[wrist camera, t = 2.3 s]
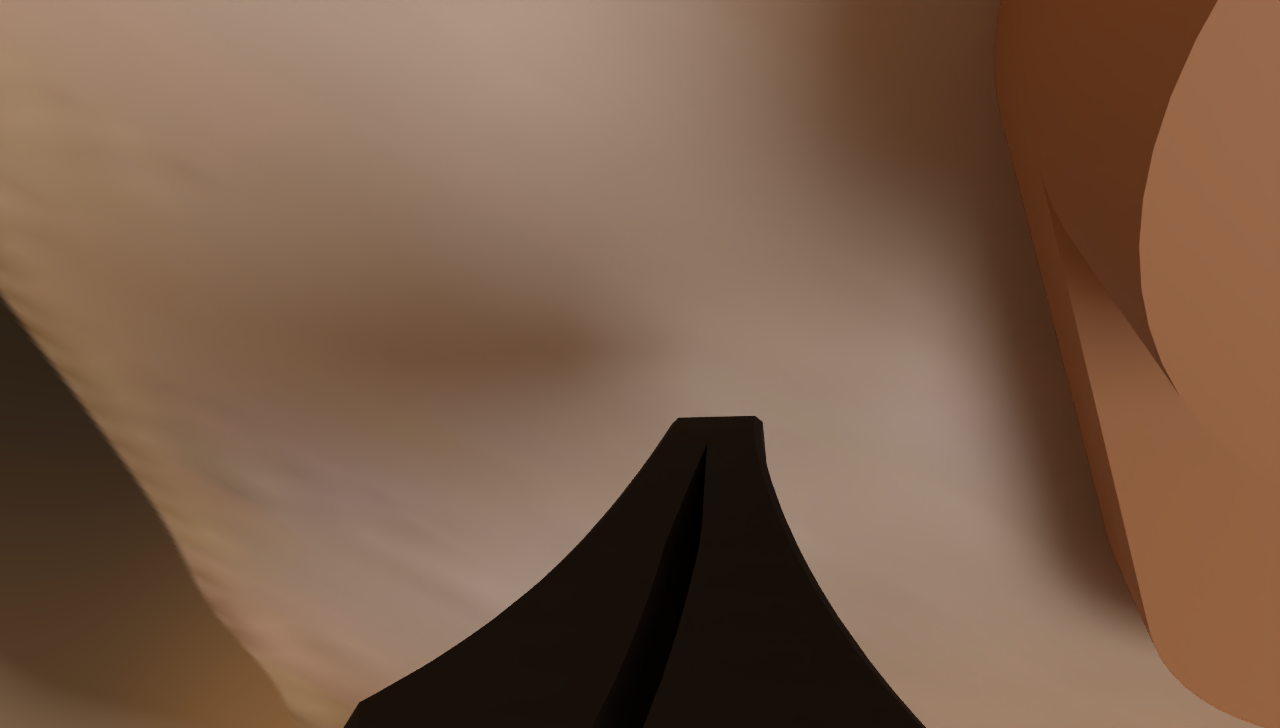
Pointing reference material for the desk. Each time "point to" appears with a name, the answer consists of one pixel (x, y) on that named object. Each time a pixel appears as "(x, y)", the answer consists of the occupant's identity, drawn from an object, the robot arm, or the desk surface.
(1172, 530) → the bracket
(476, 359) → the desk surface
